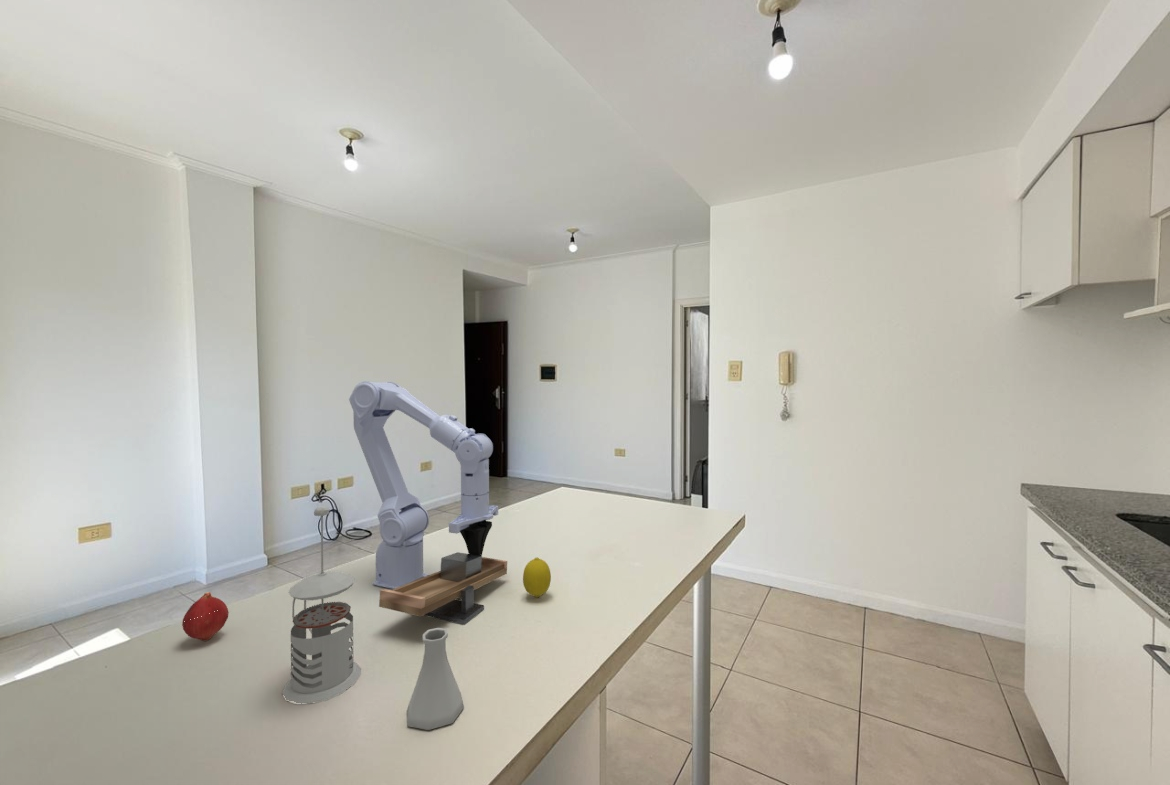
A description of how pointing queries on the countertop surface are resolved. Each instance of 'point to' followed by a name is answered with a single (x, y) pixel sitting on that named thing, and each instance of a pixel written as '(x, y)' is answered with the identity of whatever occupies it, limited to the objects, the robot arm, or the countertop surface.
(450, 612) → the pivot stand
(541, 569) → the lemon
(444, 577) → the steel block
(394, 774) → the countertop surface
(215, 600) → the red pomegranate
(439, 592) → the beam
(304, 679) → the french press
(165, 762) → the countertop surface
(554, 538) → the countertop surface
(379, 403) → the robot arm
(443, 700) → the flask
